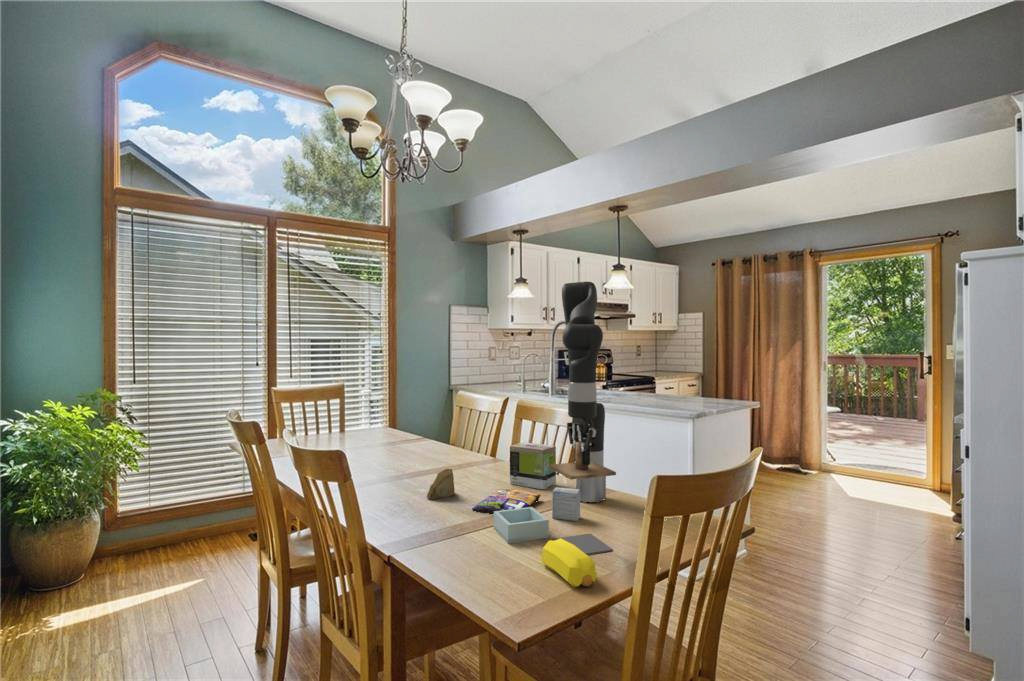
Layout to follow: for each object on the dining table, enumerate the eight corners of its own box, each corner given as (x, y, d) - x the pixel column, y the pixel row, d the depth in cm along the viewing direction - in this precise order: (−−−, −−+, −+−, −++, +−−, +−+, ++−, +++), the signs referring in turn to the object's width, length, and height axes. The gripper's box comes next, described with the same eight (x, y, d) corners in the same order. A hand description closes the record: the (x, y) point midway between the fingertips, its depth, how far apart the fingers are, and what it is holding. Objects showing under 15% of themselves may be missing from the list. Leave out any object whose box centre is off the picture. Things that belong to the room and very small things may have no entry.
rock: (425, 495, 179) (455, 490, 181) (423, 471, 184) (452, 467, 186) (428, 506, 188) (456, 501, 189) (426, 483, 193) (453, 479, 194)
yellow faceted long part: (561, 557, 136) (535, 562, 133) (561, 531, 136) (535, 535, 133) (604, 587, 120) (575, 594, 117) (604, 557, 120) (575, 563, 117)
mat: (590, 534, 151) (590, 533, 151) (612, 550, 140) (612, 549, 140) (551, 540, 147) (551, 538, 147) (571, 557, 135) (571, 555, 135)
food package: (549, 502, 183) (550, 490, 182) (518, 526, 160) (518, 511, 160) (493, 494, 192) (493, 482, 192) (455, 515, 170) (455, 501, 170)
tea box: (556, 484, 202) (556, 445, 202) (543, 490, 194) (543, 449, 194) (522, 478, 211) (522, 440, 210) (508, 484, 202) (508, 445, 202)
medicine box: (580, 517, 166) (580, 489, 166) (577, 521, 162) (577, 493, 161) (555, 514, 168) (555, 486, 168) (552, 518, 164) (552, 490, 164)
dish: (531, 523, 160) (531, 506, 160) (548, 537, 149) (548, 519, 148) (493, 528, 155) (493, 511, 155) (508, 543, 144) (508, 525, 144)
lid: (591, 463, 151) (591, 436, 151) (615, 475, 139) (616, 445, 139) (549, 467, 147) (549, 439, 147) (571, 479, 135) (571, 448, 135)
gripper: (608, 401, 138) (608, 468, 138) (582, 395, 151) (581, 456, 151) (582, 402, 135) (582, 470, 135) (558, 396, 148) (557, 458, 148)
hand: (581, 463), depth 143 cm, fingers closed on lid, 3 cm apart
